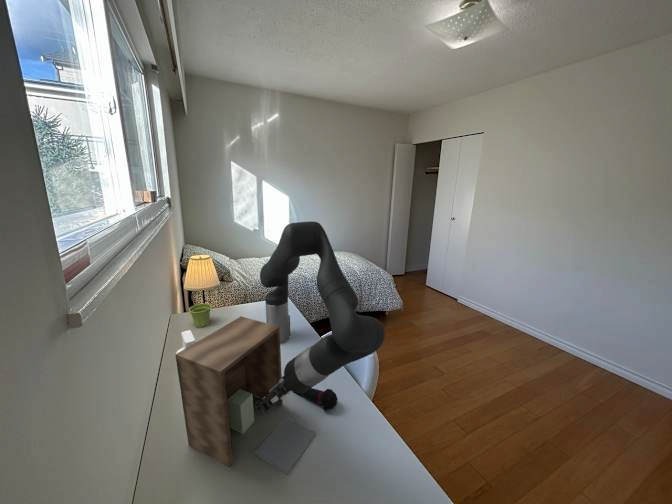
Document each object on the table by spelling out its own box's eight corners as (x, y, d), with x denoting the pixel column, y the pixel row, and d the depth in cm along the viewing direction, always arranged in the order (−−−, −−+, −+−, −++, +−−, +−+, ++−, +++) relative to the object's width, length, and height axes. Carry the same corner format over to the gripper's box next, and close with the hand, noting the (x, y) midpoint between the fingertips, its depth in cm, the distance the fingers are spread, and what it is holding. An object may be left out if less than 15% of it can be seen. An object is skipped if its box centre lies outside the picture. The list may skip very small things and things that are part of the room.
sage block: (241, 415, 78) (239, 388, 76) (254, 421, 76) (252, 393, 74) (230, 427, 74) (227, 400, 72) (242, 433, 72) (240, 405, 70)
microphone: (282, 397, 89) (334, 416, 79) (276, 385, 87) (328, 404, 76) (291, 383, 93) (342, 399, 83) (286, 371, 91) (337, 387, 80)
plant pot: (207, 329, 124) (205, 312, 122) (186, 329, 124) (184, 312, 122) (216, 320, 133) (214, 303, 131) (197, 319, 133) (195, 303, 131)
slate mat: (286, 418, 77) (286, 417, 77) (316, 434, 72) (316, 432, 72) (255, 454, 67) (255, 452, 67) (287, 475, 62) (287, 473, 62)
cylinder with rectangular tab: (175, 364, 100) (171, 334, 97) (202, 355, 105) (199, 327, 102) (179, 377, 93) (175, 346, 90) (208, 367, 98) (204, 337, 96)
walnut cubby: (188, 444, 69) (175, 354, 63) (246, 390, 88) (240, 316, 81) (230, 468, 63) (220, 371, 57) (282, 404, 82) (279, 326, 76)
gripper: (313, 339, 67) (277, 366, 75) (279, 374, 55) (240, 402, 62) (333, 363, 67) (294, 388, 74) (302, 404, 54) (259, 430, 61)
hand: (269, 395), depth 68 cm, fingers open, 8 cm apart
